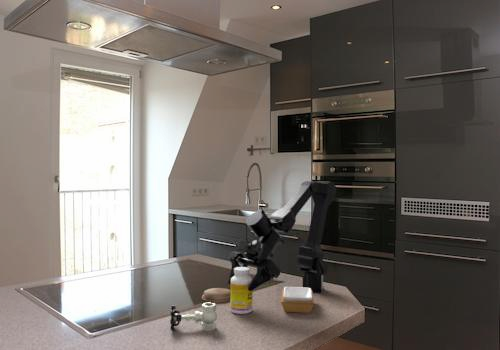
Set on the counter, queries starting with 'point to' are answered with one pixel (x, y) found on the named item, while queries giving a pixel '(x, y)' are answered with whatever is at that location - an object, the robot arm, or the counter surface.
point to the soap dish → (297, 299)
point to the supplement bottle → (241, 291)
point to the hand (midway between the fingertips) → (238, 287)
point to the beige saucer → (217, 295)
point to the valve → (197, 317)
